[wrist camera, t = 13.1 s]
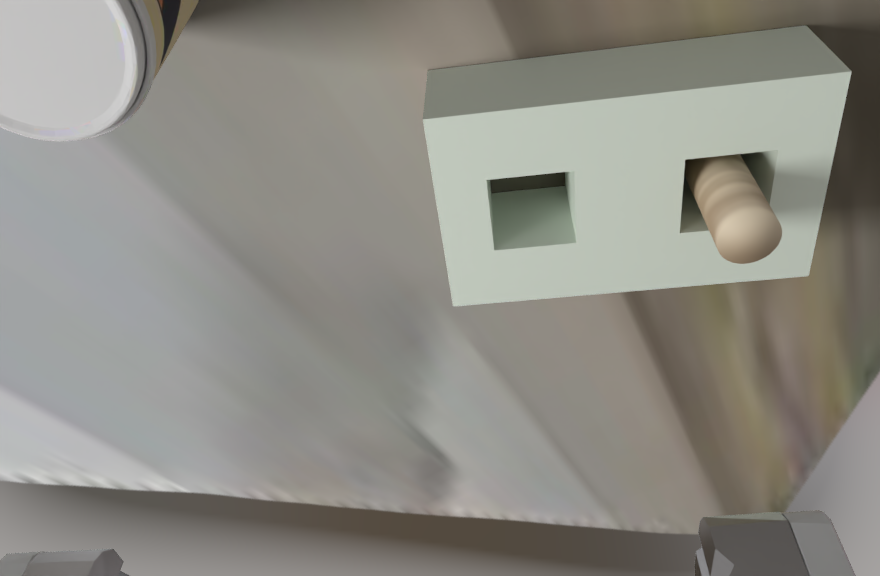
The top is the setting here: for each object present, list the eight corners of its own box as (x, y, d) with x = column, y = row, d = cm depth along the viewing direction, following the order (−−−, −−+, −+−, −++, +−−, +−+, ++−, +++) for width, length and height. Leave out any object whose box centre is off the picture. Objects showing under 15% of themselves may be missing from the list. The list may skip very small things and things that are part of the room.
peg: (673, 118, 43) (719, 215, 35) (728, 112, 43) (786, 208, 35) (670, 164, 45) (713, 266, 37) (723, 159, 45) (777, 260, 37)
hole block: (427, 70, 42) (423, 119, 37) (806, 25, 40) (851, 71, 35) (454, 246, 49) (453, 306, 44) (774, 216, 47) (808, 276, 42)
